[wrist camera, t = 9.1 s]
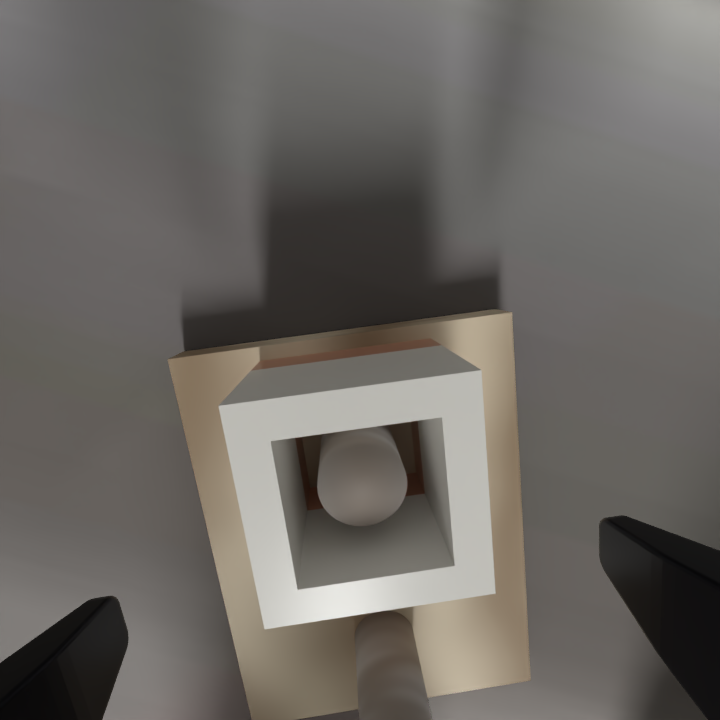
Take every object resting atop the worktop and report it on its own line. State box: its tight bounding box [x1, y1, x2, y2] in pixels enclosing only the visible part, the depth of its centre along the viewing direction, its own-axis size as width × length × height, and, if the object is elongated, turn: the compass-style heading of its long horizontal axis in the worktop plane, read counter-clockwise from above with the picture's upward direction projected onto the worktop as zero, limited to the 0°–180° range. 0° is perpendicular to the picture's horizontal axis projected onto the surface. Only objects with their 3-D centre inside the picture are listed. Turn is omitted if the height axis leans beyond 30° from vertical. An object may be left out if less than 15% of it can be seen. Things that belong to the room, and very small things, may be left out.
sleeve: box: [219, 338, 496, 629], centre depth 12 cm, size 6×6×5 cm
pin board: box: [168, 309, 531, 720], centre depth 14 cm, size 12×16×6 cm
